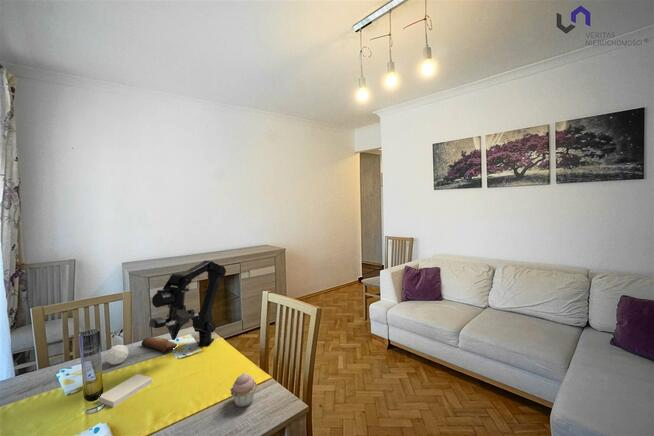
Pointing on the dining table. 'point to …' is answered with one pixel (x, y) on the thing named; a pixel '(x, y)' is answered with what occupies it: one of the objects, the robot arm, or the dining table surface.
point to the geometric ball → (117, 354)
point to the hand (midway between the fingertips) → (173, 339)
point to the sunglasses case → (159, 344)
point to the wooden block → (125, 390)
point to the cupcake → (243, 390)
